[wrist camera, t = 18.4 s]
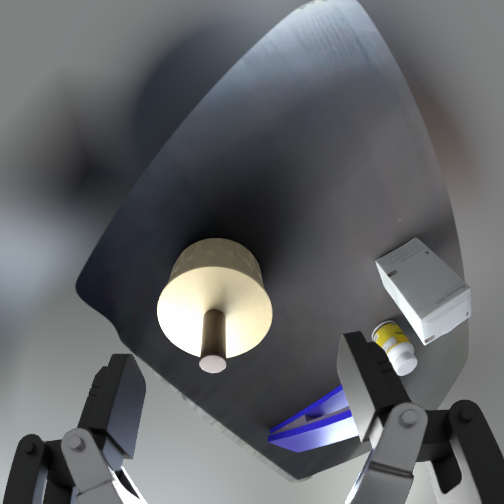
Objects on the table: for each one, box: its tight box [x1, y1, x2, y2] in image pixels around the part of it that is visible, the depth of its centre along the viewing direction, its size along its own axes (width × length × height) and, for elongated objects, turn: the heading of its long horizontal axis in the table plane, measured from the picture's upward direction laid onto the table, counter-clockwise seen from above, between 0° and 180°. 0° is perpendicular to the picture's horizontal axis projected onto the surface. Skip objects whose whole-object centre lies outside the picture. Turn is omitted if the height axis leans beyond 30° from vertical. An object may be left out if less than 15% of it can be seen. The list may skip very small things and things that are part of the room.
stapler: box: [268, 385, 359, 452], centre depth 54 cm, size 12×28×10 cm, turn 136°
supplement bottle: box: [372, 321, 417, 376], centre depth 45 cm, size 5×5×10 cm
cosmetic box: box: [375, 237, 472, 345], centre depth 37 cm, size 8×6×15 cm
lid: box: [157, 265, 272, 373], centre depth 31 cm, size 13×13×9 cm
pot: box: [169, 238, 264, 287], centre depth 39 cm, size 12×12×8 cm
